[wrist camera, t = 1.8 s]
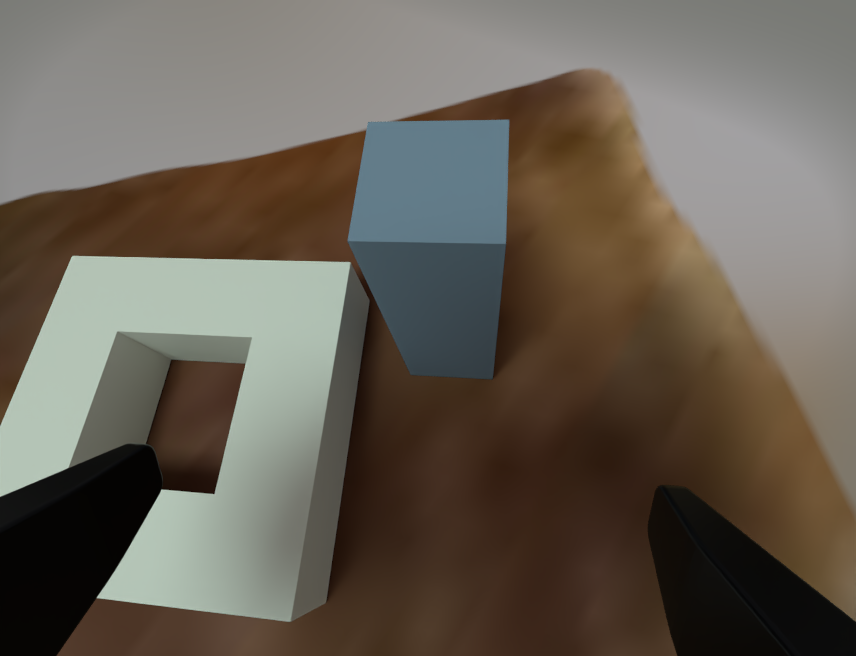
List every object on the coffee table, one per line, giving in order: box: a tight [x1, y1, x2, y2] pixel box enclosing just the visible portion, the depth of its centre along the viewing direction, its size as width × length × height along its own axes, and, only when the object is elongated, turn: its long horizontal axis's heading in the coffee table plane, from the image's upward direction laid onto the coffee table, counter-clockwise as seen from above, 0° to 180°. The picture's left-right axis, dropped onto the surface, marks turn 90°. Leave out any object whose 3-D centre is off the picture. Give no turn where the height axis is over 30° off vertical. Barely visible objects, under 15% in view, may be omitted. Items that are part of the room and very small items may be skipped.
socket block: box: [0, 256, 370, 622], centre depth 21 cm, size 14×14×4 cm
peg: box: [348, 120, 509, 379], centre depth 18 cm, size 4×4×12 cm
